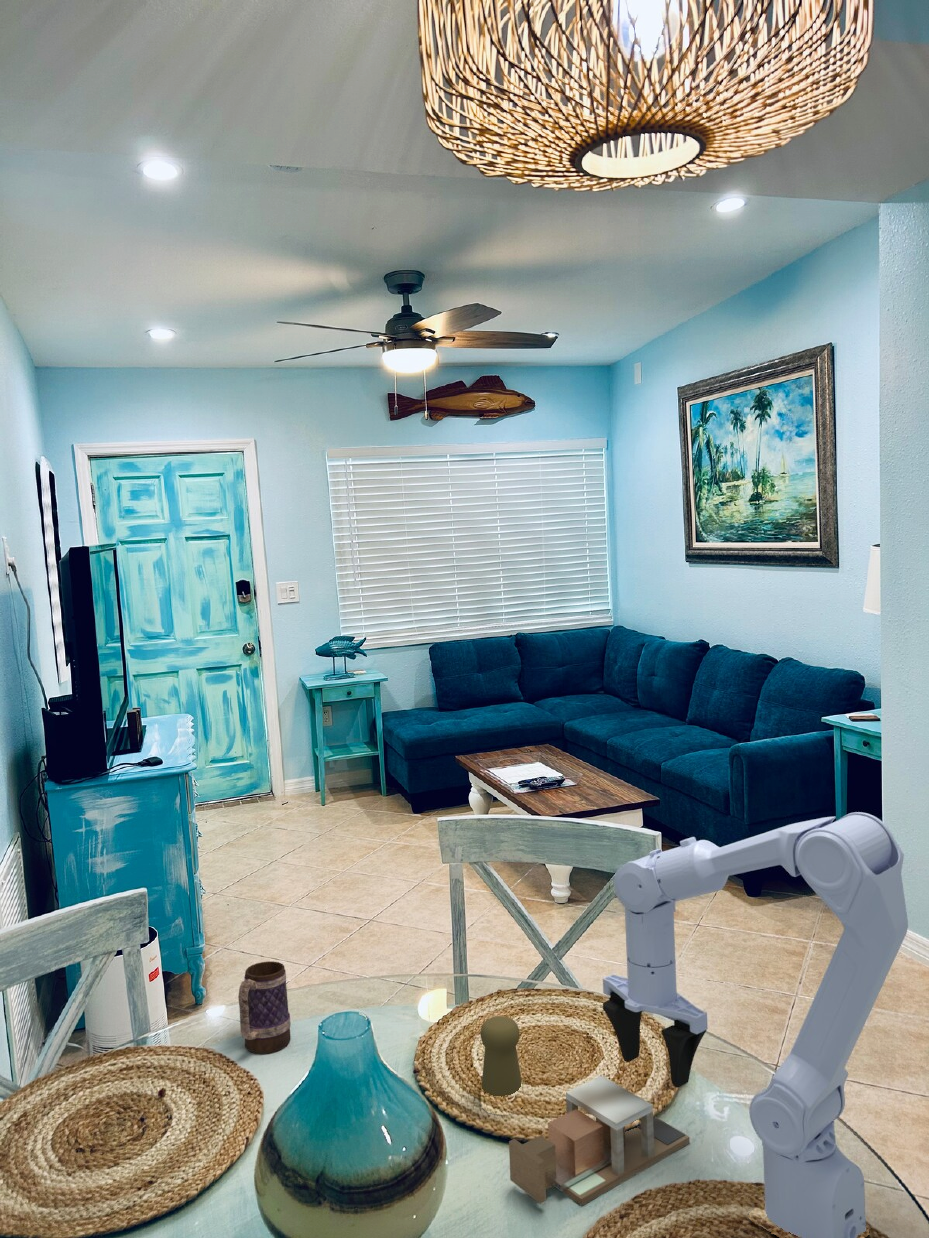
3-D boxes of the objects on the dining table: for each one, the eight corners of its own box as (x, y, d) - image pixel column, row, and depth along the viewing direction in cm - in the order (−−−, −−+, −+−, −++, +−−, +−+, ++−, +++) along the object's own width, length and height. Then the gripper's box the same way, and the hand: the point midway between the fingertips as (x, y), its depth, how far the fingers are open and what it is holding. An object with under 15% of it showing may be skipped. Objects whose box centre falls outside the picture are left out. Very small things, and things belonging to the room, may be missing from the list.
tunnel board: (689, 1142, 108) (687, 1087, 108) (581, 1206, 97) (579, 1144, 97) (634, 1110, 115) (633, 1058, 115) (528, 1166, 105) (526, 1108, 105)
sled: (634, 1151, 105) (632, 1112, 105) (540, 1203, 96) (539, 1161, 96) (602, 1131, 109) (601, 1094, 109) (510, 1179, 101) (508, 1139, 101)
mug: (260, 1029, 142) (257, 955, 141) (299, 1035, 139) (296, 959, 139) (222, 1061, 132) (219, 981, 132) (263, 1068, 130) (260, 986, 129)
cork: (508, 1120, 114) (505, 1035, 114) (470, 1105, 118) (467, 1023, 118) (534, 1098, 119) (531, 1017, 119) (497, 1085, 123) (494, 1006, 122)
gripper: (583, 949, 110) (588, 1058, 110) (677, 986, 98) (681, 1108, 98) (623, 935, 114) (627, 1040, 114) (717, 968, 102) (721, 1086, 102)
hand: (655, 1070), depth 106 cm, fingers open, 7 cm apart
